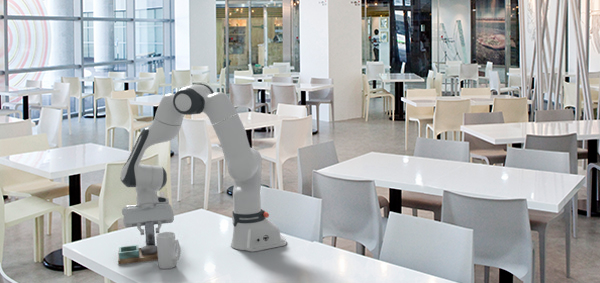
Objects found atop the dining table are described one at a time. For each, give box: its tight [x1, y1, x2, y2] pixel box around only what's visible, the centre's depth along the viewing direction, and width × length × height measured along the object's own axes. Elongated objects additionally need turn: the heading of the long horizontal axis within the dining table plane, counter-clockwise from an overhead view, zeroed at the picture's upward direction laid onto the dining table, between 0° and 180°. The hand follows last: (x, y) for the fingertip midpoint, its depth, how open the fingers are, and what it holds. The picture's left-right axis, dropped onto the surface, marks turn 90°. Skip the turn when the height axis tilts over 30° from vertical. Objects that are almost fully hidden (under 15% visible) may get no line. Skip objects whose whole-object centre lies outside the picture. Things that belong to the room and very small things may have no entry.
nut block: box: [117, 244, 158, 265], centre depth 219 cm, size 15×12×4 cm
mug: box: [155, 231, 182, 270], centre depth 208 cm, size 10×7×12 cm, turn 60°
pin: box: [144, 221, 156, 246], centre depth 232 cm, size 4×4×10 cm
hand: (150, 233), depth 231 cm, fingers open, 5 cm apart
